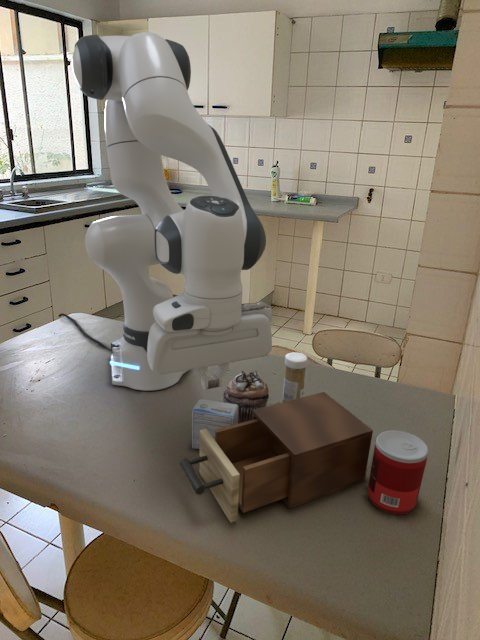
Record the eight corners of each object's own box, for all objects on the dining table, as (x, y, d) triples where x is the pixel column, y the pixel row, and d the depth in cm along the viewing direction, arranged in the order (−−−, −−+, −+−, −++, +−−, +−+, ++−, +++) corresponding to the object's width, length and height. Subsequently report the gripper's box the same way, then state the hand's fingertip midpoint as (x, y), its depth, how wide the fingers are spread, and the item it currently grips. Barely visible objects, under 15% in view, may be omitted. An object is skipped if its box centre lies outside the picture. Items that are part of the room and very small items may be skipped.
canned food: (426, 510, 75) (439, 455, 71) (383, 520, 73) (394, 463, 69) (398, 479, 82) (409, 426, 78) (358, 486, 80) (367, 433, 75)
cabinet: (289, 509, 74) (294, 455, 70) (249, 458, 85) (252, 409, 81) (364, 481, 81) (373, 430, 77) (318, 437, 92) (324, 391, 88)
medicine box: (237, 442, 90) (239, 403, 87) (232, 456, 86) (233, 416, 83) (198, 435, 91) (199, 397, 88) (191, 449, 87) (191, 409, 84)
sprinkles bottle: (306, 413, 100) (312, 358, 95) (289, 419, 98) (295, 362, 93) (292, 403, 104) (297, 349, 99) (276, 409, 101) (280, 354, 96)
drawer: (202, 533, 68) (203, 485, 65) (174, 480, 78) (173, 436, 75) (309, 494, 76) (314, 450, 73) (271, 450, 86) (274, 410, 83)
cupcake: (256, 400, 104) (258, 360, 101) (274, 423, 96) (277, 381, 92) (215, 406, 101) (216, 365, 98) (230, 431, 93) (232, 388, 89)
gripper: (263, 294, 77) (258, 367, 83) (142, 308, 69) (145, 388, 74) (282, 306, 72) (276, 384, 77) (153, 323, 64) (156, 409, 69)
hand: (211, 386), depth 76 cm, fingers closed
